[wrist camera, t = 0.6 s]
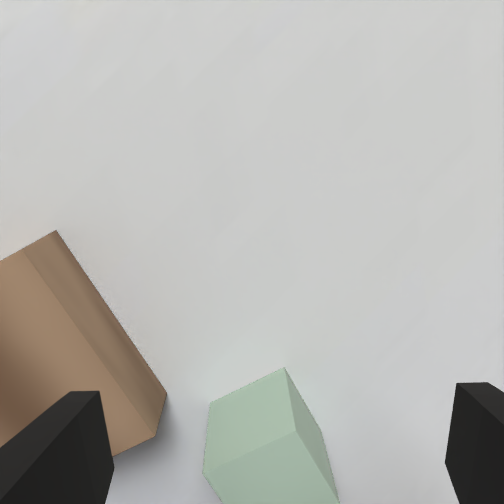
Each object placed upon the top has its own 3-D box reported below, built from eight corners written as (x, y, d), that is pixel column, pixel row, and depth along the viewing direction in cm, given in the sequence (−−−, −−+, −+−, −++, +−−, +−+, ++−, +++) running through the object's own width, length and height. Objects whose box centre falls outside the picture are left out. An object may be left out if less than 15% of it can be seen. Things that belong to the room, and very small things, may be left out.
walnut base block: (10, 469, 22) (-25, 522, 19) (-114, 323, 19) (-176, 358, 16) (167, 392, 21) (155, 436, 18) (55, 230, 18) (21, 249, 15)
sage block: (249, 462, 22) (251, 544, 18) (210, 402, 21) (202, 473, 17) (320, 429, 22) (340, 505, 17) (284, 366, 21) (296, 430, 16)
